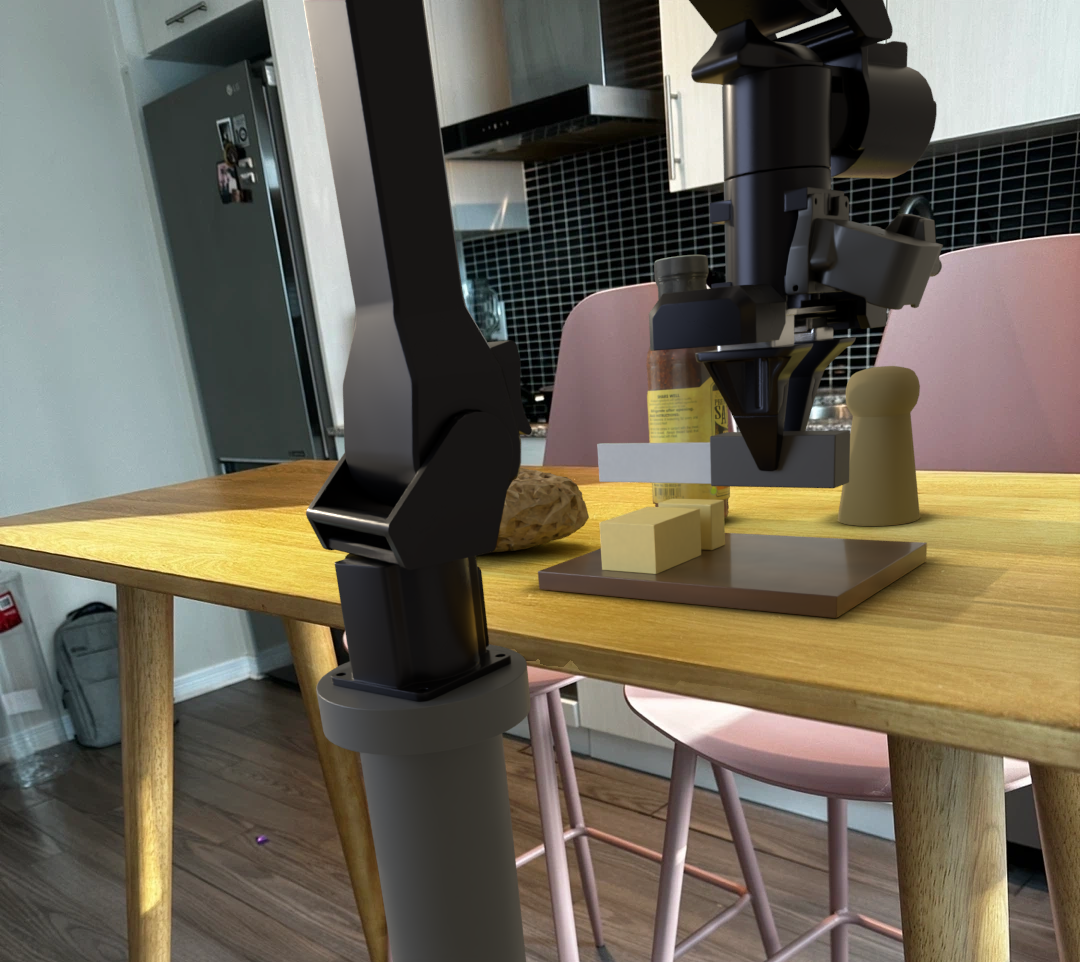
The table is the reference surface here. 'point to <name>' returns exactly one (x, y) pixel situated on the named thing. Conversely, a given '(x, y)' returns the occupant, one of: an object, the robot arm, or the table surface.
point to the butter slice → (705, 519)
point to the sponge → (540, 510)
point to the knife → (731, 461)
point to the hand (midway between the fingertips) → (777, 467)
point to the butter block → (650, 539)
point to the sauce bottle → (683, 387)
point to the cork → (881, 448)
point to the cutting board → (755, 574)
